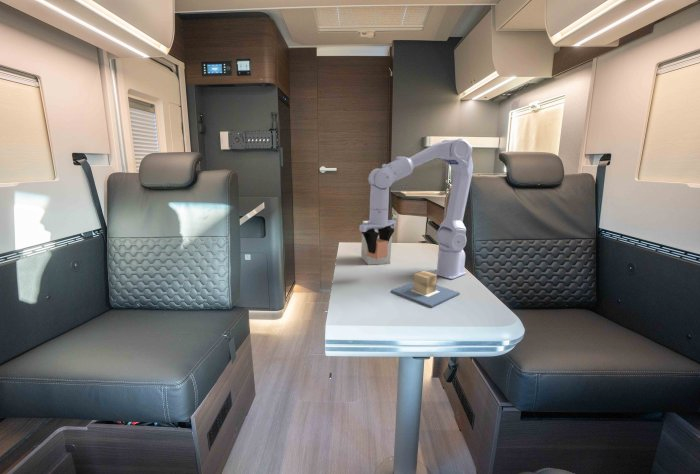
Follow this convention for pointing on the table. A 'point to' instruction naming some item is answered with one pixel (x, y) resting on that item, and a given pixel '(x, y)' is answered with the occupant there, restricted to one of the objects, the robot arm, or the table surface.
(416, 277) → the oak block
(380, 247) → the terracotta block
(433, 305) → the board
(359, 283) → the table surface
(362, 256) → the supplement box
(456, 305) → the table surface
